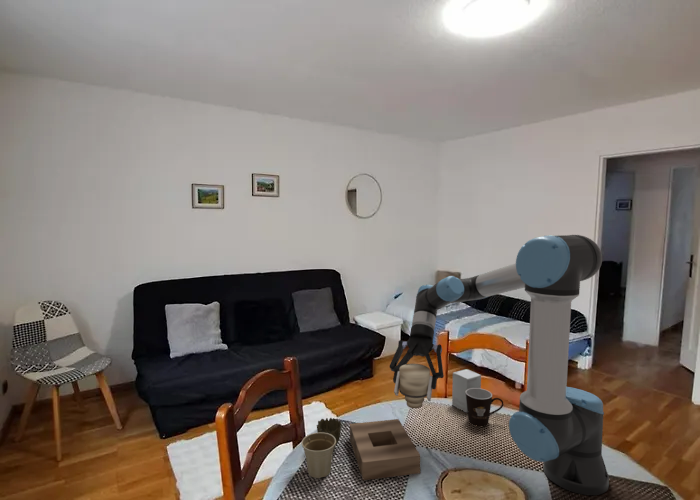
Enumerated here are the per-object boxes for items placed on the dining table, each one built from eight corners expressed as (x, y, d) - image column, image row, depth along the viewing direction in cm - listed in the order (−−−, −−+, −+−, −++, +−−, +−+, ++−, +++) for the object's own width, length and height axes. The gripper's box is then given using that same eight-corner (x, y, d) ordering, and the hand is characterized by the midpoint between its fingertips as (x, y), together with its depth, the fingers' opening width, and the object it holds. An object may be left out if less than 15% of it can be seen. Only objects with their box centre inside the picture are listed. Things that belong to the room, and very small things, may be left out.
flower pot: (304, 460, 112) (304, 431, 111) (337, 461, 111) (337, 432, 111) (299, 482, 102) (299, 451, 102) (335, 483, 102) (334, 451, 101)
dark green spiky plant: (338, 457, 113) (338, 431, 112) (314, 454, 114) (313, 428, 114) (343, 443, 120) (343, 418, 120) (320, 440, 122) (320, 416, 121)
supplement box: (466, 413, 138) (466, 379, 137) (451, 405, 145) (451, 372, 144) (481, 408, 142) (481, 374, 141) (465, 400, 148) (466, 368, 147)
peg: (434, 410, 114) (434, 374, 112) (404, 413, 112) (404, 376, 111) (423, 396, 122) (424, 362, 121) (396, 398, 121) (396, 364, 120)
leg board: (420, 473, 106) (420, 455, 105) (362, 480, 103) (362, 462, 103) (398, 433, 125) (398, 418, 125) (349, 439, 123) (349, 423, 122)
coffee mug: (461, 423, 131) (461, 395, 131) (469, 413, 138) (470, 386, 138) (497, 434, 125) (497, 403, 124) (503, 422, 132) (504, 394, 131)
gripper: (457, 337, 126) (451, 407, 113) (392, 330, 134) (379, 395, 121) (456, 325, 120) (448, 397, 107) (388, 319, 128) (373, 386, 115)
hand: (412, 396), depth 114 cm, fingers closed on peg, 9 cm apart
